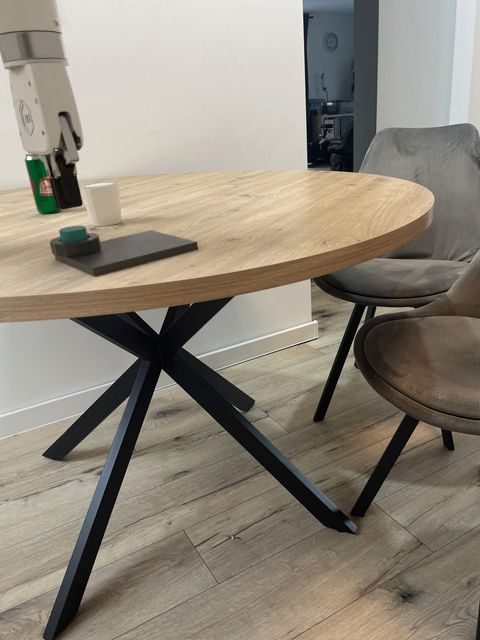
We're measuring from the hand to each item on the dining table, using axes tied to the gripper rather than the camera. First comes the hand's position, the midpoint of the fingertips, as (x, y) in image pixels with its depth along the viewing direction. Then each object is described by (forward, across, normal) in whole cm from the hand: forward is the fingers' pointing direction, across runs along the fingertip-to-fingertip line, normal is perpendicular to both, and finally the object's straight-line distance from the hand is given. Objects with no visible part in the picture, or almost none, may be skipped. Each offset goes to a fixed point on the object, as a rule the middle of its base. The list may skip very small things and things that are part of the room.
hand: (69, 207), depth 70 cm
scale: (+7, +4, +5) cm, 10 cm away
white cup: (+7, -21, +14) cm, 27 cm away
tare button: (+5, 0, 0) cm, 5 cm away
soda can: (+7, -44, +12) cm, 47 cm away
